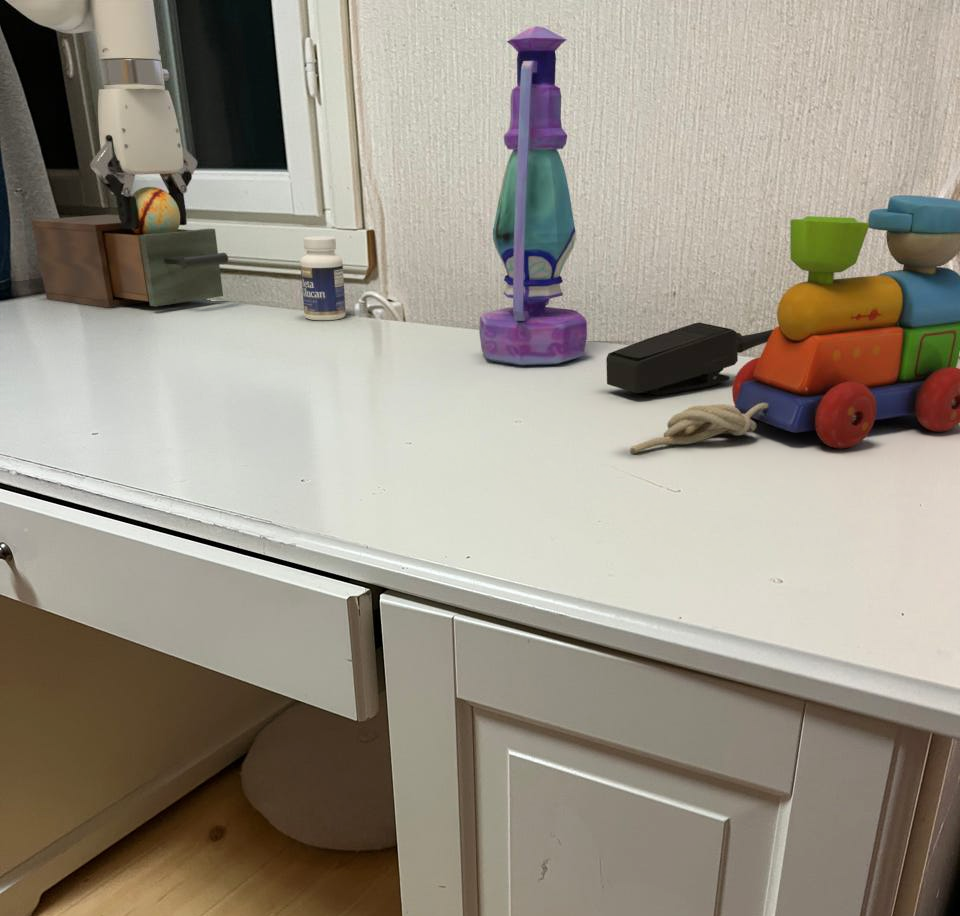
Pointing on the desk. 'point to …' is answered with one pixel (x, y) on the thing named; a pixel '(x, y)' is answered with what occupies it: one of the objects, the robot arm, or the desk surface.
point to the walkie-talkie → (679, 359)
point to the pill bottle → (322, 279)
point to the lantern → (534, 219)
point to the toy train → (853, 335)
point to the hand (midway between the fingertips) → (154, 225)
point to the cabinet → (77, 259)
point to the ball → (156, 211)
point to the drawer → (164, 265)
